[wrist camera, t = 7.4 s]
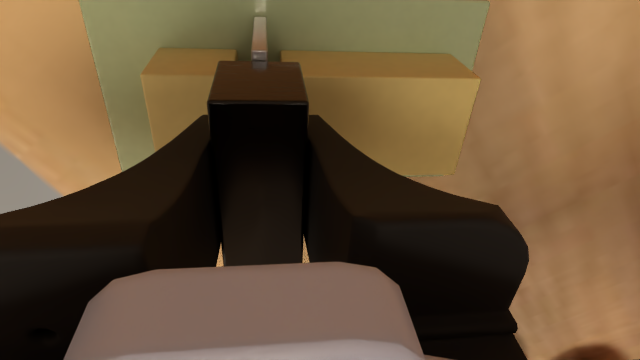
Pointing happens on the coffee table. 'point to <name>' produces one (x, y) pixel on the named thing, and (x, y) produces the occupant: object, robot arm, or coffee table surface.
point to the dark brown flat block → (259, 156)
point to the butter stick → (393, 104)
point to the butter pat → (179, 88)
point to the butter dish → (236, 33)
